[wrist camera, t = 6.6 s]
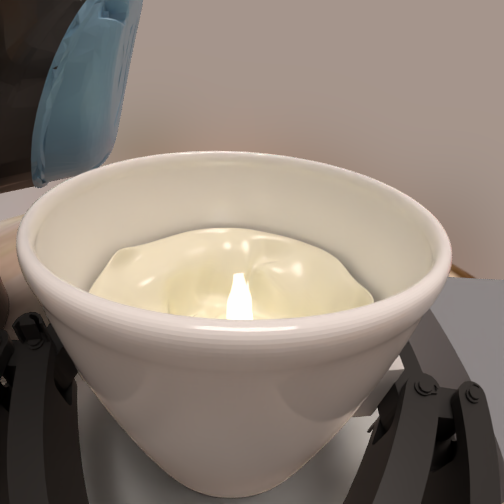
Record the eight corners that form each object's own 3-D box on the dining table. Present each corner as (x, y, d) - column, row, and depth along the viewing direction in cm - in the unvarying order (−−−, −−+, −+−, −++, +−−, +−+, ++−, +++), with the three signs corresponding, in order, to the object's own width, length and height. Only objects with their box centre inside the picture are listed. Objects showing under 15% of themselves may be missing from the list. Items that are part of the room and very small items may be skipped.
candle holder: (346, 395, 14) (428, 189, 8) (270, 545, 6) (493, 499, 1) (205, 336, 18) (202, 144, 12) (98, 436, 10) (-18, 207, 4)
